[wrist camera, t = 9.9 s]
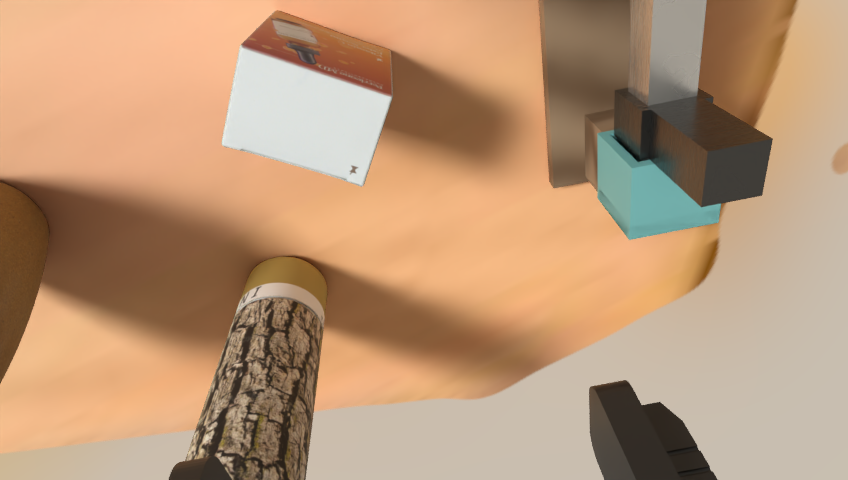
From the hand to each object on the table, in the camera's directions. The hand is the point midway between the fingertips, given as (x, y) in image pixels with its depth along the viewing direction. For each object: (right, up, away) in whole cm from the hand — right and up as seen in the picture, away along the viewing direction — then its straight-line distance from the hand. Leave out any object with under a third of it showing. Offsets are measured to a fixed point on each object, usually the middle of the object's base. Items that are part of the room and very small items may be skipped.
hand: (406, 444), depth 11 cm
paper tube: (-11, +1, +35) cm, 36 cm away
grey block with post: (+14, +17, +20) cm, 29 cm away
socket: (+15, +10, +25) cm, 31 cm away
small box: (-7, +16, +25) cm, 31 cm away
